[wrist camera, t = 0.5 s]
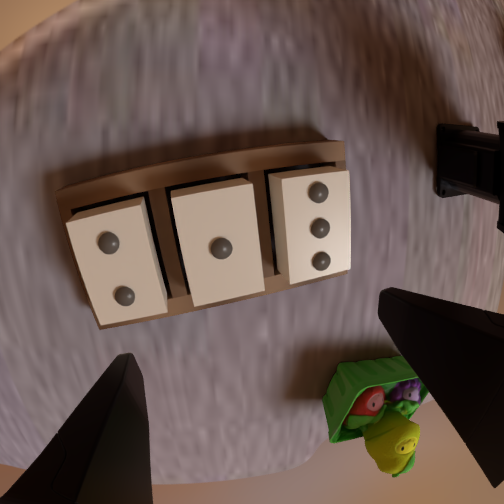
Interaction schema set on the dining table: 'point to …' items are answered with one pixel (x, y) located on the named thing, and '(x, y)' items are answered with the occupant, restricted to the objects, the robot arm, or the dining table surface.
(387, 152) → the dining table surface
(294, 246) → the tile three dots
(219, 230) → the tile one dot
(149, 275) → the tile two dots
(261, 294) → the walnut board
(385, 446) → the fruit basket
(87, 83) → the dining table surface
